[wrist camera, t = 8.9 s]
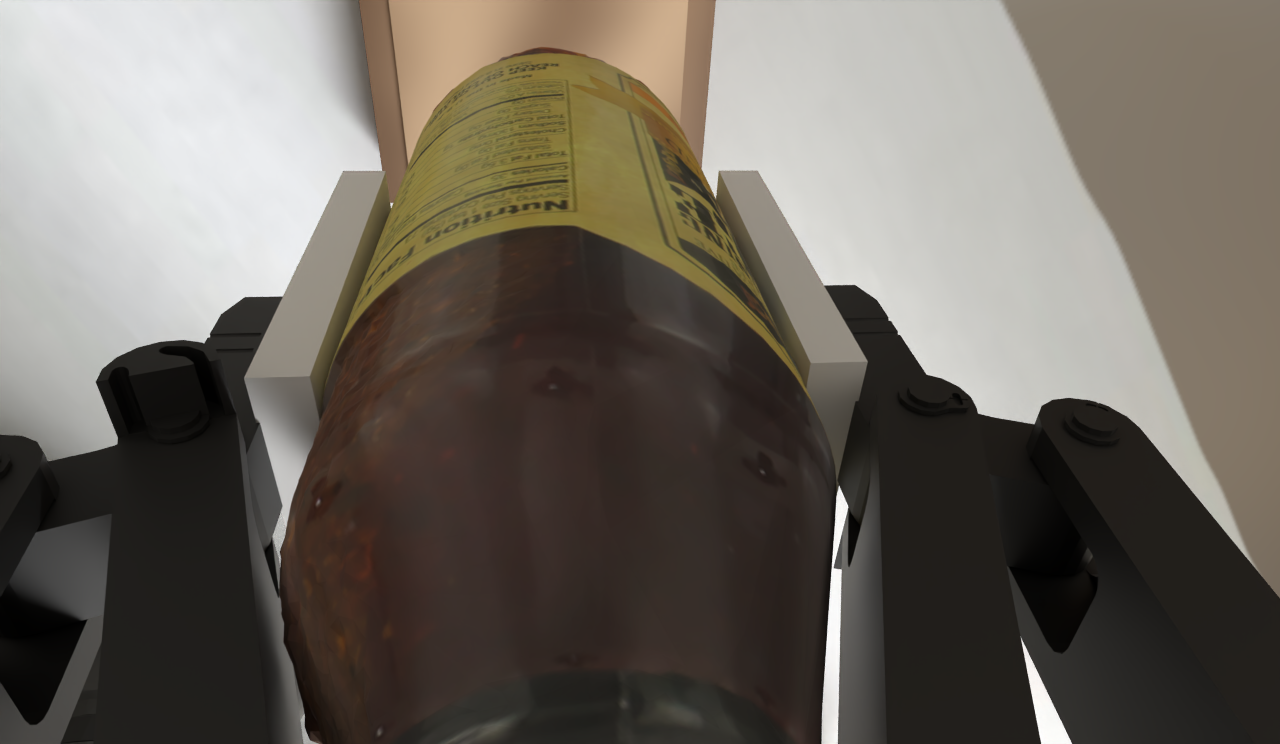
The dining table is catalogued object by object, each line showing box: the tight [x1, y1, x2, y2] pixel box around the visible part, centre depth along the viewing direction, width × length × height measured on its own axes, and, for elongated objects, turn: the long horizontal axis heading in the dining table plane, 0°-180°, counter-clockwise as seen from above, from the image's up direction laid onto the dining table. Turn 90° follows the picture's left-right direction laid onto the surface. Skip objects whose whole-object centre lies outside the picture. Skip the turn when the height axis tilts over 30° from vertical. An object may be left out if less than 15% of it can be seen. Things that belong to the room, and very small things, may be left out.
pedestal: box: [359, 0, 716, 203], centre depth 31 cm, size 12×12×3 cm
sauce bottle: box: [279, 47, 837, 744], centre depth 12 cm, size 7×6×20 cm
